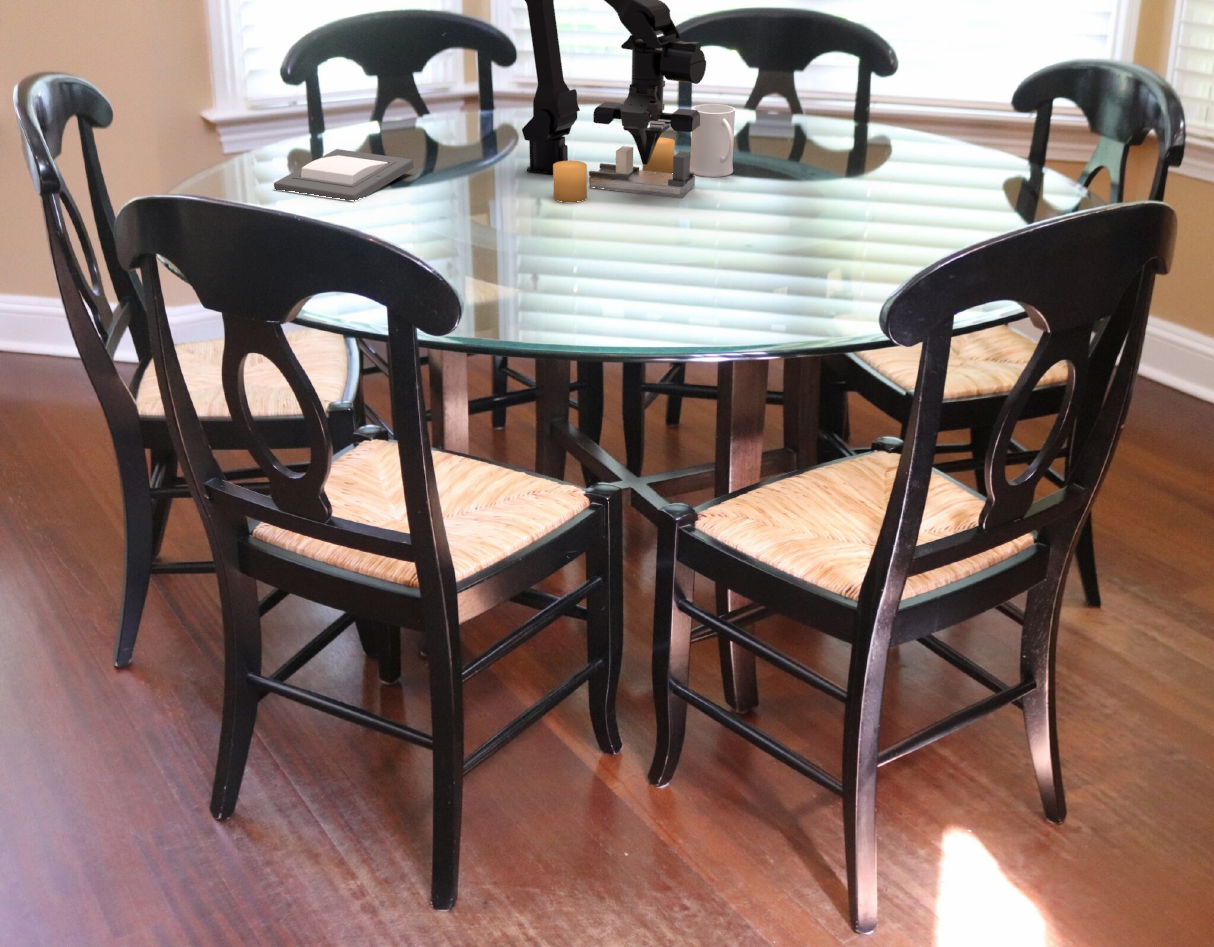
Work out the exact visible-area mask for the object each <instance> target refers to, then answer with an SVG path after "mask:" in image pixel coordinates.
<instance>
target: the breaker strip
mask: <svg viewBox="0 0 1214 947" xmlns="http://www.w3.org/2000/svg"><path fill="white" fill-rule="evenodd" d="M588 176H589V177H588V188H589V187H595V188H604V189H609V190H608V191H612V190H617V191H616V192H621V191H623V193H631V194H640V195H649V194H651V195H650V196H657V197H659V196H660V197H667V196H668V197H669V198H676V197H678V199H684V197H685V196H686V195H687V194H688V193H689V192H690V191H691V190H692V189H693V188H695V187H696V186H695V185H696V183H695V182H696V181H695V180H696V175H694V173H692V172H690V174H689V178H687V179H686V180H675V179H673V174H672V173H662V172H652V171H643V169H642V170H640V167H639V166H633V171H632V172H631V173H630V174H628V175H627V174H618V173H616V164H613V163H612V164H610V163H602V162H601V163H600V164H599V170H598V171H597V170H596V171H595V170H589V171H588Z"/></svg>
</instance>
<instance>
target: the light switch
mask: <svg viewBox="0 0 1214 947" xmlns="http://www.w3.org/2000/svg"><path fill="white" fill-rule="evenodd" d="M413 169H414V161H413V159H412V158H404V157H397V156H390V155H382V154H376V153H369V152H361V151H355V150H354V151H353V150H345V149H339V148H336V149H334V150H331V151H330V152H328V153H326V154H325V155H323V156H321V157H319V158H317V159H315V160H313V161H310V162H308V163H307V164H305V165H304V166H302V167H300V168H298V169H297V170H295V171H293V172H292V173H289V174H288V175H286V176H284V177H282V178H280V179H279V180H277V181H274V182H273V188H274V190H275V189H276V190H275V191H277V190H285V191H295V192H299V193H307V194H314V195H319V196H326V197H332V198H340V199H345V200H354V201H355V200H358V199H359V198H363V197H365V198H366V197H367V198H368V196H370V195H372V194H373V193H375V192H377V191H378V190H380V189H382V188H384V187H385V186H387V185H388V184H390V183H392V182H393V181H394V180H396V179H398V178H399V177H401V176H403V175H404V174H406V173H408V172H410V171H411V170H413ZM363 199H364V198H363ZM358 201H359V200H358Z"/></svg>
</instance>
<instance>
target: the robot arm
mask: <svg viewBox="0 0 1214 947" xmlns="http://www.w3.org/2000/svg"><path fill="white" fill-rule="evenodd" d="M603 1H604V2H605V3H606V4H608V5H609V6H610V7H611V8H612V9H613V10H614V12H616V13H617V16H618V18H619V21H620V23H621V24H622V25H623V26H624V28H626V30H627V31H628V32H629V34H630V35H629V37H628V38H627V40H625V42H622V43H621V46H620V48H621V50H628V51H629V50H630V51H631V83H630V84H629V88H628V94H627V97H626V98H625V100H624V102H623V103H622V102H613V101H604V102H603V103H601V104H599V105H597V106H596V107H595V108H594V111H593V117H592V118H593V121H592V122H593V124H600V125H601V124H602V125H610V124H611V123H612V122H613V121H615V120H621V121H620V122H621V126H622V128H623V130H624V131H626V132H629V134H630V135H631V136H632V138H633V140H634V142H635V145H636V148H637V151H638V154H639V157H640V161H641V163H642V165H643V164H645V165H647V164H648V163H649V161H650V158H651V156H652V153H653V151H654V148H655V146H656V143H657V141H658V139H659V137H661V135H662V134H663V133H665V131H666V130H668V129H670V127H671V129H672V130H673V131H674V132H683V133H690V132H691V133H692V131H693V130H695V129H696V128H697V127H698V126H700V114H699V112H698V111H697V110H693V109H687V108H678V109H676V110H675V111H674V112H672V113H671V112H663V111H665V103H664V88H666V80H668V81H671V82H672V81H673V82H681V83H685V84H686V83H687V84H695V85H697V84H699V83H701V81H702V80H703V78H704V76H705V73H706V69H707V60H706V56H705V53H704V51H703V50H701V46H702V43H701V42H699V41H691V42H690V41H683V38H682V35H681V34H680V33H679V31H678V30H679V29H677V27H676V25H675V23H674V22H673V19H672V17H671V10H670V8H669V6H668V5H667V4H666V3H665V2H663V1H661V0H603ZM524 2H525V4H526V7H527V14H528V15H527V16H528V22H529V30H530V36H531V43H532V50H533V58H534V64H535V71H536V72H535V74H536V80H537V86H536V90H535V94H534V97H533V102H532V113H533V114H532V117H531V119H529V121H528V122H527V123H526V124H525V125H524V126H523V127H521V128H522V129H521V131H522V135H523V138H524V140H525V141H529V166H528V167H526V172H531V173H541V174H550V175H553V164H554V163H557V162H560V161H569V159H568V158H569V156H568V155H569V154H568V153H569V152H568V151H569V146H568V145H567V144H566V136H568V135H569V134H570V132H571V131H572V130H571V129H572V126H573V125H575V123H576V121H577V120H578V112H580V111H581V109H580V107H579V105H578V104H579V103H578V92H577V89H576V88H574V89H570V87H569V86H568V85H567V83H566V82H565V79H564V72H563V66H562V65H563V64H562V58H561V57H562V56H561V48H560V42H559V34H558V26H557V18H556V11H555V4H554V3H555V1H554V0H524ZM664 79H665V80H664Z"/></svg>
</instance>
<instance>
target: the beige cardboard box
mask: <svg viewBox="0 0 1214 947" xmlns="http://www.w3.org/2000/svg"><path fill="white" fill-rule="evenodd" d="M615 165H616V173H618V174H627V175H628V174H630V173H631V172H632V171H633V167H634V146H629V145H627V146H626V145H623V146H621V147H619V148H618V149H617V150H616V151H615Z"/></svg>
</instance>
